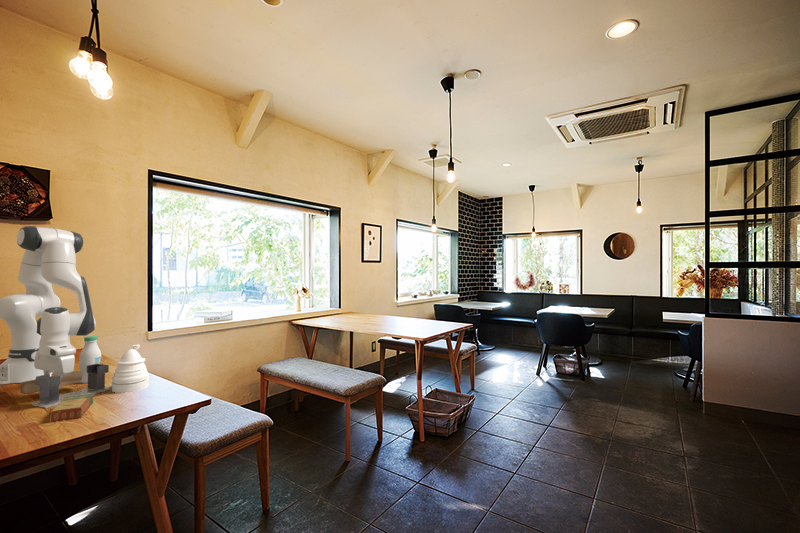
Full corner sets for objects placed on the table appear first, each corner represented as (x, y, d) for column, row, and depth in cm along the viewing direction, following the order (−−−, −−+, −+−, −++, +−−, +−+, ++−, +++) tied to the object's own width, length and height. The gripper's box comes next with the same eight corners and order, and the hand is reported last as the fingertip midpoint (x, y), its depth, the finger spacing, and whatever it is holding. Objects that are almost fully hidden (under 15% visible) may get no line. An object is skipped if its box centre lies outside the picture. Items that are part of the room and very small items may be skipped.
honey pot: (139, 381, 166) (140, 341, 167) (154, 386, 160) (155, 345, 160) (105, 389, 155) (106, 346, 155) (120, 395, 149) (121, 350, 149)
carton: (49, 423, 122) (49, 411, 122) (64, 407, 136) (64, 396, 136) (82, 419, 126) (82, 406, 126) (93, 403, 140) (93, 392, 140)
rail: (20, 392, 141) (20, 382, 141) (76, 380, 158) (76, 370, 158) (25, 394, 139) (26, 384, 139) (81, 381, 156) (82, 372, 156)
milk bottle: (88, 384, 162) (89, 338, 162) (74, 382, 164) (75, 337, 164) (105, 378, 170) (106, 335, 170) (91, 377, 171) (92, 334, 171)
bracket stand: (32, 405, 137) (32, 377, 137) (97, 387, 158) (97, 362, 158) (46, 408, 134) (46, 379, 134) (110, 389, 155) (110, 364, 155)
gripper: (29, 346, 149) (28, 380, 149) (59, 352, 142) (58, 388, 142) (49, 343, 155) (47, 376, 155) (78, 349, 148) (77, 383, 148)
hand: (52, 382), depth 148 cm, fingers closed on rail, 4 cm apart
